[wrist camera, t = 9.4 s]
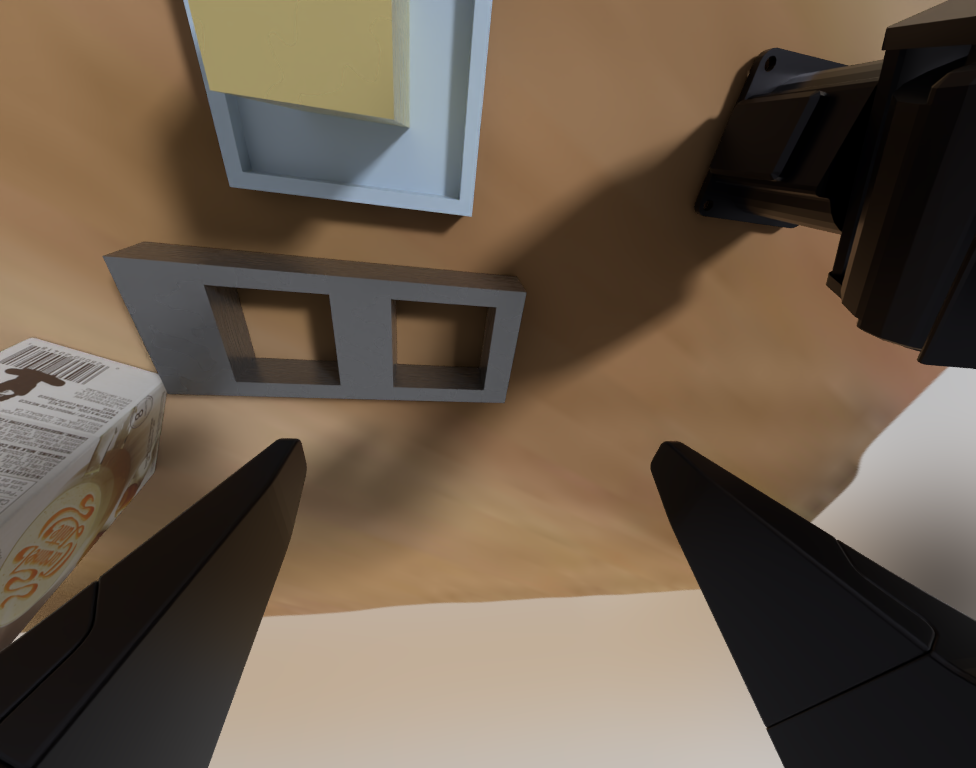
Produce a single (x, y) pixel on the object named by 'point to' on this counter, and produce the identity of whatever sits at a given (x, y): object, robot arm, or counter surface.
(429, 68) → the tray
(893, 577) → the robot arm
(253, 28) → the brushed brass block
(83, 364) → the coffee box
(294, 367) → the plate with rectangular hole
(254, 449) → the counter surface
